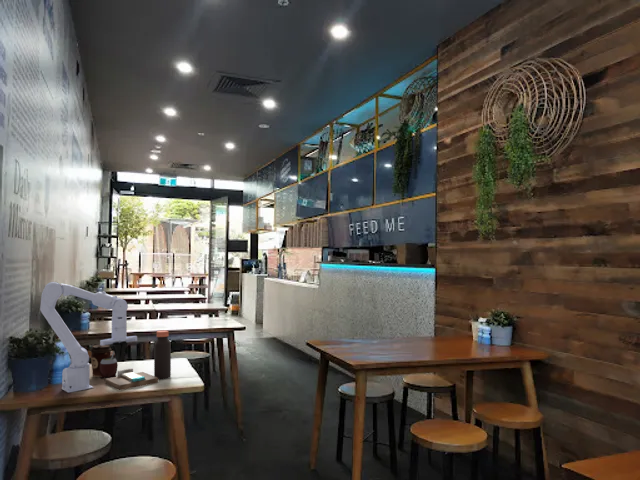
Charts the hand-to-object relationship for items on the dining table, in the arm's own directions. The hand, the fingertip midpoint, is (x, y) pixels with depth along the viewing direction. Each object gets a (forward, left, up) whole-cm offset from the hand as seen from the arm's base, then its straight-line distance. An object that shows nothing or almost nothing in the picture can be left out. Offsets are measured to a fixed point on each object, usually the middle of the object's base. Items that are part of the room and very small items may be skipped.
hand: (118, 360), depth 200 cm
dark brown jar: (0, +19, -10) cm, 21 cm away
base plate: (+4, -3, -9) cm, 11 cm away
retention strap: (+4, -4, -7) cm, 9 cm away
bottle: (+17, -4, -10) cm, 20 cm away
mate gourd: (+1, +13, -10) cm, 16 cm away
